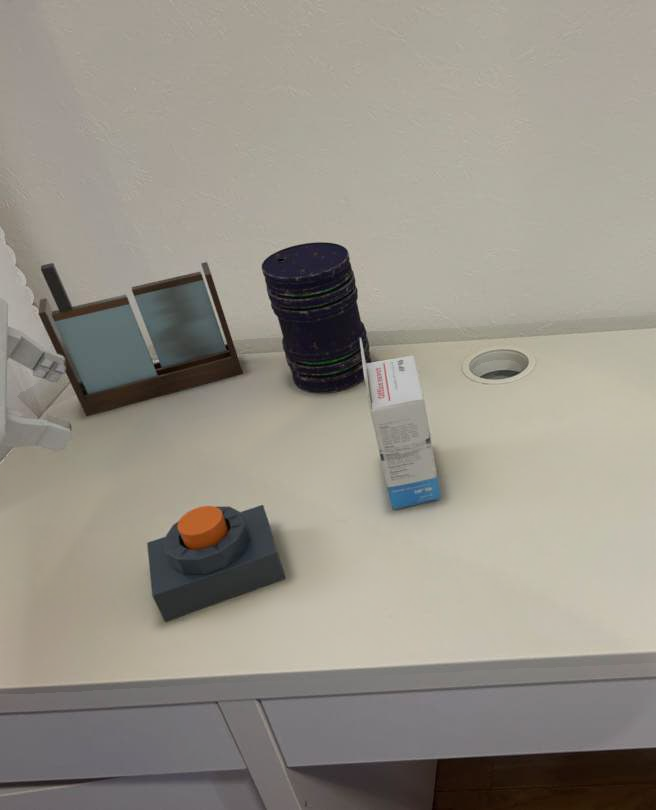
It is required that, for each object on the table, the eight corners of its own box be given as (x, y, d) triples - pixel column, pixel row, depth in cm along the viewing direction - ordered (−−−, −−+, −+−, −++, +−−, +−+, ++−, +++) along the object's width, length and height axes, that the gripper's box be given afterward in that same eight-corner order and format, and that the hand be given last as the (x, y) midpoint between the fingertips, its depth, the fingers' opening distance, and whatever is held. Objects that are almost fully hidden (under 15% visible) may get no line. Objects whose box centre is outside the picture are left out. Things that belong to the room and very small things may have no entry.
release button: (186, 555, 66) (179, 540, 65) (181, 529, 68) (175, 514, 67) (230, 540, 67) (224, 525, 66) (225, 515, 70) (219, 500, 69)
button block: (165, 622, 66) (144, 580, 63) (159, 568, 71) (139, 527, 68) (286, 578, 69) (271, 536, 66) (271, 530, 75) (257, 489, 72)
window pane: (89, 399, 93) (30, 271, 84) (89, 394, 94) (31, 267, 85) (159, 381, 95) (109, 254, 86) (158, 376, 96) (109, 250, 87)
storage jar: (382, 350, 101) (359, 240, 93) (362, 393, 93) (335, 276, 85) (306, 352, 102) (277, 243, 94) (280, 394, 94) (246, 279, 86)
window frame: (86, 416, 93) (37, 313, 86) (86, 399, 96) (39, 299, 89) (243, 373, 99) (211, 273, 91) (238, 359, 102) (207, 261, 94)
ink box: (443, 500, 76) (420, 370, 68) (391, 511, 76) (362, 381, 67) (431, 449, 83) (409, 325, 75) (383, 459, 83) (356, 335, 74)
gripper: (-161, 291, 58) (40, 365, 68) (-219, 453, 44) (47, 518, 53) (-120, 222, 57) (79, 307, 67) (-165, 364, 43) (96, 447, 52)
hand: (65, 402), depth 60 cm, fingers open, 8 cm apart
